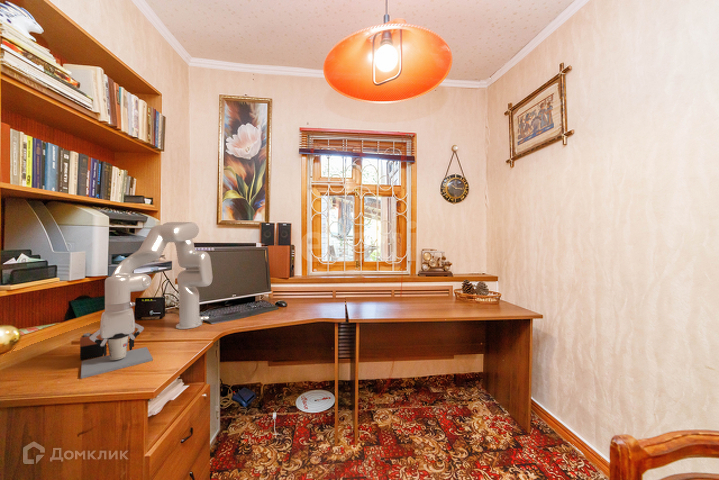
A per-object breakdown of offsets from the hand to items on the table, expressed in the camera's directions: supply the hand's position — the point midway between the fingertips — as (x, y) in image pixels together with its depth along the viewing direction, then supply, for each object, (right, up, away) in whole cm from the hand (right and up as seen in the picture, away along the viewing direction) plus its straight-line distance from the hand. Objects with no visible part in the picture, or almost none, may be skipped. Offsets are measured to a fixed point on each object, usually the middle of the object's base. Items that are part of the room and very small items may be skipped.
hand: (118, 351), depth 107 cm
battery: (-15, -4, +5) cm, 16 cm away
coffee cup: (0, -3, 0) cm, 3 cm away
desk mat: (0, -4, 0) cm, 4 cm away
